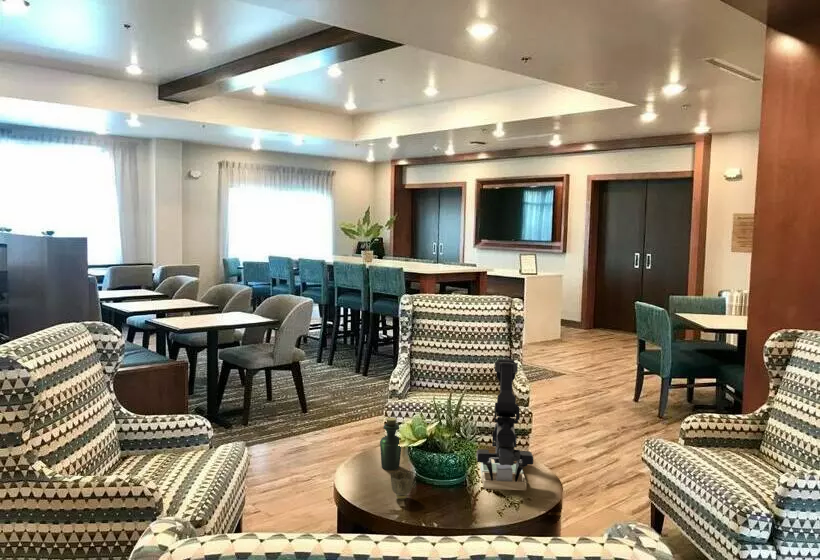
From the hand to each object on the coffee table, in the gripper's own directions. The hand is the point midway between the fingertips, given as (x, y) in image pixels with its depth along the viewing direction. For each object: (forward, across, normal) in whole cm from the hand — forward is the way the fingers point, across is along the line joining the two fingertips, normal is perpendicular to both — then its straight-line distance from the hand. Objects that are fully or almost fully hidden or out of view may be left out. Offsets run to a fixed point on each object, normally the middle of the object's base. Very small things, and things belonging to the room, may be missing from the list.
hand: (503, 481), depth 216 cm
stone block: (+1, 0, 0) cm, 1 cm away
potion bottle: (+2, -40, +15) cm, 43 cm away
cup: (+2, -34, -13) cm, 37 cm away
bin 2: (+2, 0, 0) cm, 2 cm away
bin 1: (+2, 0, +10) cm, 10 cm away
